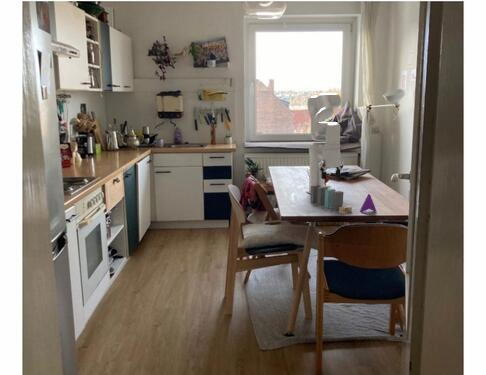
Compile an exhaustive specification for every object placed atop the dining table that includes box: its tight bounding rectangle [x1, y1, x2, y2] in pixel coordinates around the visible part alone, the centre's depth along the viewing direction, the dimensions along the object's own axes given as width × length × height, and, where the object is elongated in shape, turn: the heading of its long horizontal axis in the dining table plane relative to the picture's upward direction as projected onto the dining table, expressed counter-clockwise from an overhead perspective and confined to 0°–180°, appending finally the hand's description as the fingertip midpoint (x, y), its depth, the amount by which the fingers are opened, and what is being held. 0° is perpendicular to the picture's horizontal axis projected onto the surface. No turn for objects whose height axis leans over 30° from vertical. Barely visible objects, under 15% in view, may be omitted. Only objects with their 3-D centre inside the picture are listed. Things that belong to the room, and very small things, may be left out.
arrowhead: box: [359, 193, 378, 213], centre depth 233 cm, size 10×2×10 cm
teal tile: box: [324, 188, 337, 209], centre depth 242 cm, size 3×5×10 cm, turn 118°
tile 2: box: [316, 187, 328, 206], centre depth 248 cm, size 3×5×10 cm, turn 118°
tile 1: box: [309, 185, 321, 204], centre depth 253 cm, size 3×5×10 cm, turn 118°
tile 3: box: [331, 190, 344, 212], centre depth 236 cm, size 3×5×10 cm, turn 118°
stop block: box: [338, 205, 353, 215], centre depth 232 cm, size 6×3×3 cm, turn 118°
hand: (330, 178), depth 240 cm, fingers open, 9 cm apart
